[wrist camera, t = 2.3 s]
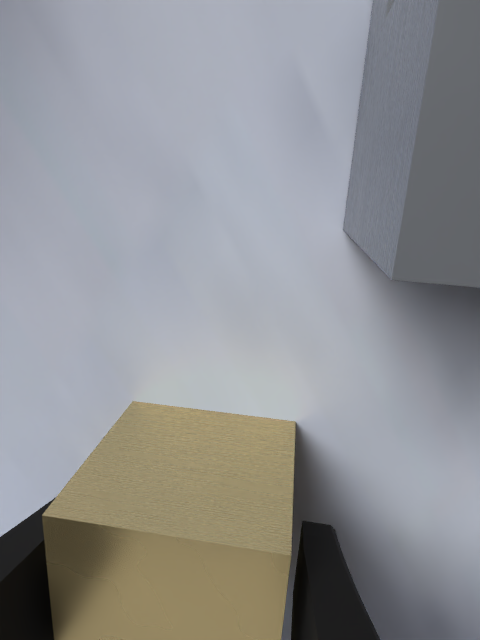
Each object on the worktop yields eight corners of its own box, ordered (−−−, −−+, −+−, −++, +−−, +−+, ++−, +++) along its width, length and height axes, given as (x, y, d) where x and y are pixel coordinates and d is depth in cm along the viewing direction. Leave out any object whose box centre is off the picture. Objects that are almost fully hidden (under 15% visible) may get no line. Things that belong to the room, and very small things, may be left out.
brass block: (137, 556, 12) (62, 722, 8) (134, 399, 11) (41, 515, 7) (277, 580, 12) (265, 767, 8) (295, 419, 10) (291, 555, 6)
